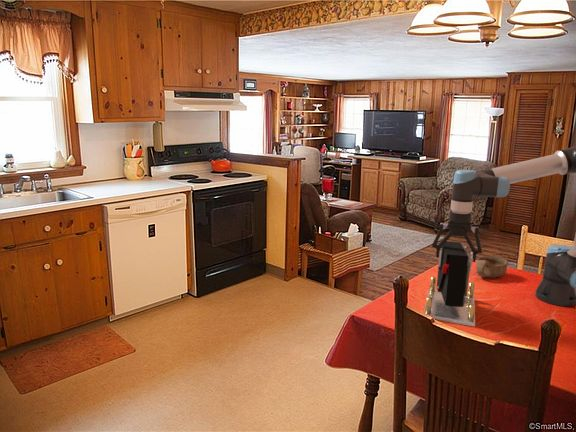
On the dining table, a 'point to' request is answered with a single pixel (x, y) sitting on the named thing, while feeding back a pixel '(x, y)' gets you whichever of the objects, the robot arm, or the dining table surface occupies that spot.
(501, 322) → the dining table surface
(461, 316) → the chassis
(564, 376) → the dining table surface
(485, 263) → the bowl
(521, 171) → the robot arm
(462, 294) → the electrical component
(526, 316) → the dining table surface
